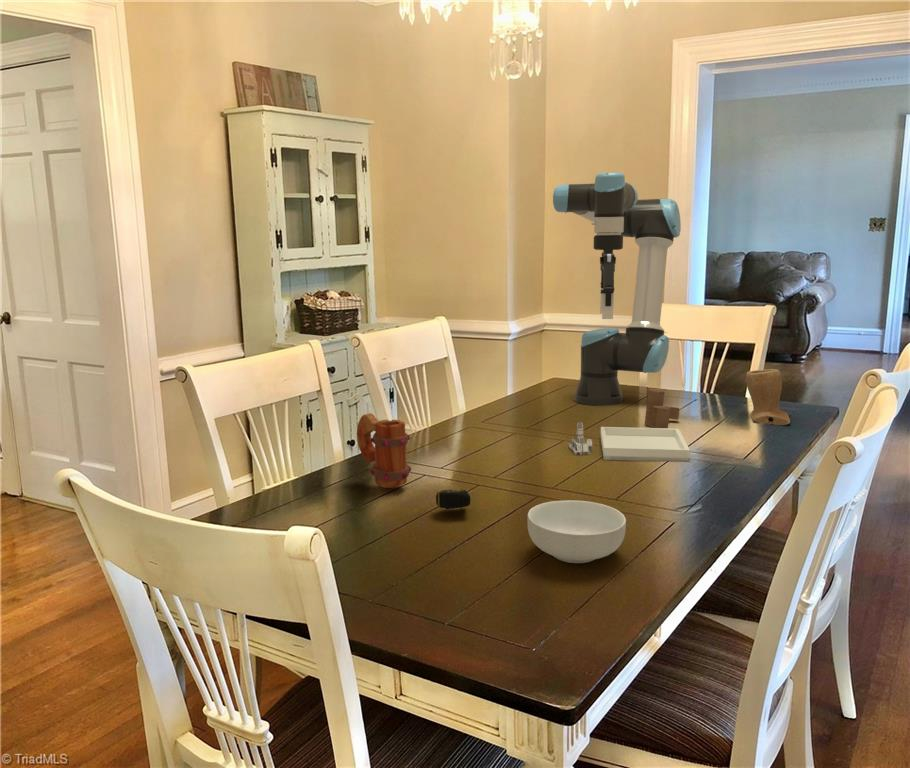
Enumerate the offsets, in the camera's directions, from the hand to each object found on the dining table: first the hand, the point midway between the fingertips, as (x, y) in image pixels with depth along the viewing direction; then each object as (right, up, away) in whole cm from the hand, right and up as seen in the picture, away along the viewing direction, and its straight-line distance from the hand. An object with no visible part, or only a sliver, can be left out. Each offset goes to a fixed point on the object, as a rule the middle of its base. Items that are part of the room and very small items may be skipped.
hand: (606, 316), depth 207 cm
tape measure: (-37, -43, -53) cm, 78 cm away
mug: (-56, -40, -33) cm, 76 cm away
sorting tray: (+7, -34, -10) cm, 37 cm away
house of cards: (-7, -35, -11) cm, 38 cm away
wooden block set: (+16, -30, +9) cm, 36 cm away
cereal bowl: (-19, -47, -72) cm, 88 cm away
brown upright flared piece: (+48, -29, +15) cm, 58 cm away
